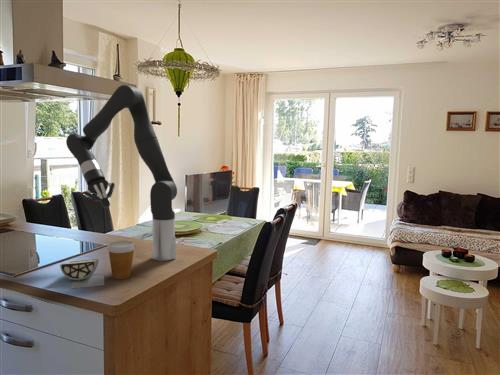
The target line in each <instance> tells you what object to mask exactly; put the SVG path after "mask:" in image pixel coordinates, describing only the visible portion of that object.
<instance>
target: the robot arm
mask: <svg viewBox="0 0 500 375" xmlns="http://www.w3.org/2000/svg"><path fill="white" fill-rule="evenodd" d="M124 109H128V111H129V113H130V115H131V118H132V120H133V139H134V144H135V145H136V149H137V152H138V154H139V156H140V158H141V160H142V161H143V162H144V164H145V165H146V166H147V167H148V169H149V170H150V173H151V174H152V177H153V180H154V183H153V184H152V186H151V188H150V191H149V192H150V194H149V199H150V213H151V215H152V227H151V228H152V238H151V239H152V242H151V243H152V253H151V254H152V256H151V257H152V260H154V261H158V262H159V261H161V262H164V261H170V260H175V259H176V254H177V252H176V248H177V247H176V243H177V242H176V235H175V233H176V232H175V230H176V228H175V223H176V221H175V219H176V217H175V216H176V213H175V211H174V210H173V203H172V201H173V200H174V199H176V197H177V194H178V188H177V184H176V183H175V181H174V178H173V177H172V174H171V173H170V170H169V168H168V166H167V163H166V159H165V156H164V153H163V151H162V148H161V145H160V142H159V140H158V138H157V135H156V132H155V130H154V127H153V124H152V121H151V119H150V115H149V113H148V108H147V104H146V100H145V97H144V94H143V92H142V91H141V89H140V88H138V87H135V86H131V85H130V84H128V85H127V84H121V85H119V86H118V87H117V88H116V89H115V91H114V92H113V93H112V95H111V96H110V97H109V99H108V100H107V101H106V103H104V105H103V107H102V108H101V109H100V110H99V111H98V113H97V114H96V115H95V116H94V117H92V119H90V120H89V121H88V122H87V123H86V124H85V125H84V126H83V128H82V132H83V134H84V135H81V134H78V133H70V134H69V135H67V137H66V140H65V141H66V142H65V144H66V147H67V148H68V150H69V152H70V153H71V154H72V155H73V157H74V158H75V159H76V161H77V162H78V165H79V168H80V170H81V174H82V176H83V178H84V181H85V183H86V185H87V189H86V191H84V197H86V198H88V199H90V200H92V201H93V202H96V203H97V202H100V203H101V205H102V208H105V209H108V208H110V206H111V203H110V201H109V198H110V199H111V197H112V196H113V192H114V190H115V187H116V186H115V185H116V184H115V182H111V183H110V182H109V180H107V179H106V178H105V175H104V173H103V171H102V169H101V165H100V164H99V163H98V161H97V159H96V157H95V155H94V153H93V152H92V151H91V150H92V148H93V147H94V145H95V143H96V142H97V140H98V138H99V137H101V135H103V134H104V132H106V131H107V129H108V128H109V127H110V125H111V123H112V121H113V119H114V118H115V116H117V114H118V113H120V112H121V111H123V110H124ZM107 190H108V191H107Z"/></svg>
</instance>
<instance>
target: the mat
mask: <svg viewBox="0 0 500 375" xmlns="http://www.w3.org/2000/svg"><path fill="white" fill-rule="evenodd" d="M103 286H105V275H104V274H103V275H101V274H100V275H91V276H90V277H88V278H86V279H83V280H72V284H71V289H74V290H75V289H83V288H92V287H93V288H94V287H103Z"/></svg>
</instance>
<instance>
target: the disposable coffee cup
mask: <svg viewBox="0 0 500 375" xmlns="http://www.w3.org/2000/svg"><path fill="white" fill-rule="evenodd" d="M135 248H136V246H135V243H134V242H133V241H128V240H120V241H119V240H118V241H112V242H110V243H109V244H108V246H107V252H108V254H109V255H108V256H109V262H110V268H111V269H110V270H111V276H112V278H113V279H116V280H120V279H121V280H122V279H127V278H130V277H131V273H132V268H133V267H132V265H133V258H134V257H133V256H134V250H135Z"/></svg>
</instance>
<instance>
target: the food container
mask: <svg viewBox="0 0 500 375" xmlns="http://www.w3.org/2000/svg"><path fill="white" fill-rule="evenodd" d="M98 265H99V258H92V259H84V260H73V261H71V260H70V261H67V262H64V263H59V269H60V271H61V273H62V274H63V275H64V277H66V278H68V279H70V280H72V281H73V280H83V279H86V278H88V277H90V276H93V274H94V273H95V272H96V270H97V268H98Z"/></svg>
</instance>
